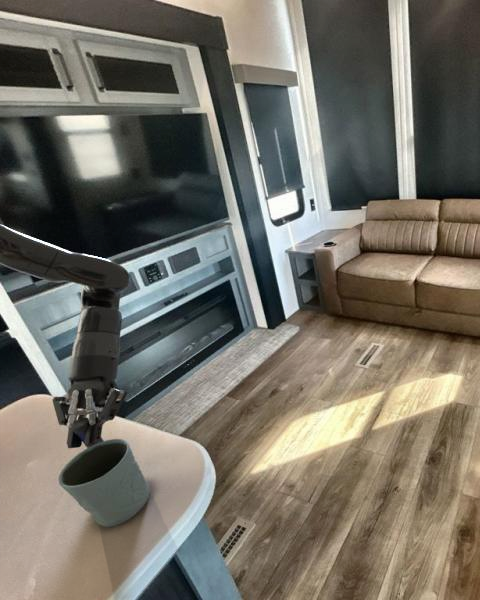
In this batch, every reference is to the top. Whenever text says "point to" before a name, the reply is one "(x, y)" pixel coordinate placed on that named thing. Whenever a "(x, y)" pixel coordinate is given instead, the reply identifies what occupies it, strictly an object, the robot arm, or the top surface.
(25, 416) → the top surface
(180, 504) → the top surface
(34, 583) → the top surface
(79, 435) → the marker
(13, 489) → the top surface
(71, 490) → the grey-green cup
